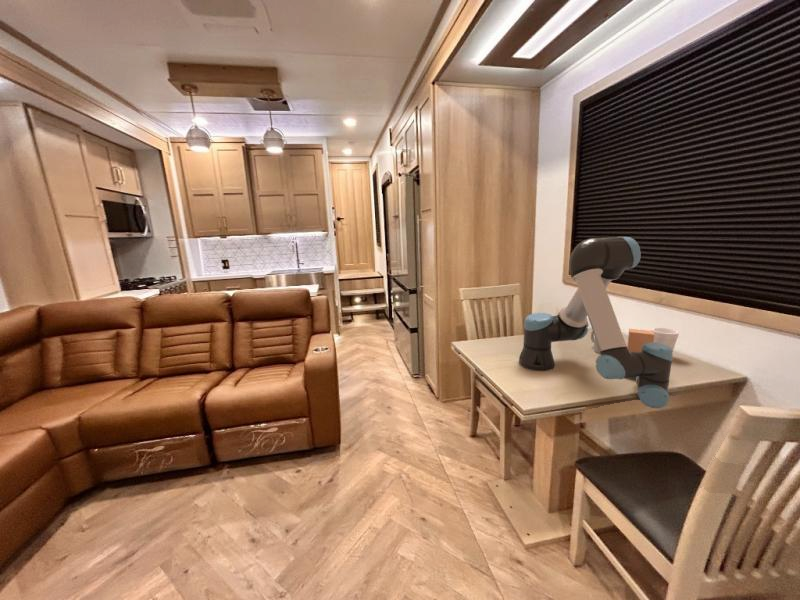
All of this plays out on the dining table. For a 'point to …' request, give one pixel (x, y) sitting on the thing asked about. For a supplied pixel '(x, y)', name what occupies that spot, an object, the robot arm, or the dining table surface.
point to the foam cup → (665, 336)
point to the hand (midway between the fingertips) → (643, 355)
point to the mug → (595, 343)
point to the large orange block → (639, 339)
